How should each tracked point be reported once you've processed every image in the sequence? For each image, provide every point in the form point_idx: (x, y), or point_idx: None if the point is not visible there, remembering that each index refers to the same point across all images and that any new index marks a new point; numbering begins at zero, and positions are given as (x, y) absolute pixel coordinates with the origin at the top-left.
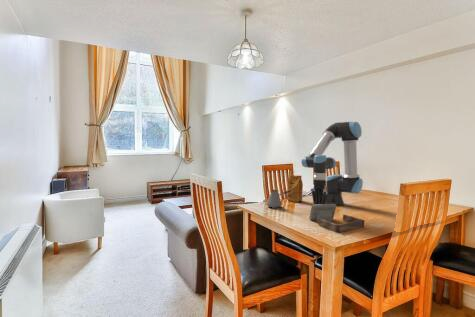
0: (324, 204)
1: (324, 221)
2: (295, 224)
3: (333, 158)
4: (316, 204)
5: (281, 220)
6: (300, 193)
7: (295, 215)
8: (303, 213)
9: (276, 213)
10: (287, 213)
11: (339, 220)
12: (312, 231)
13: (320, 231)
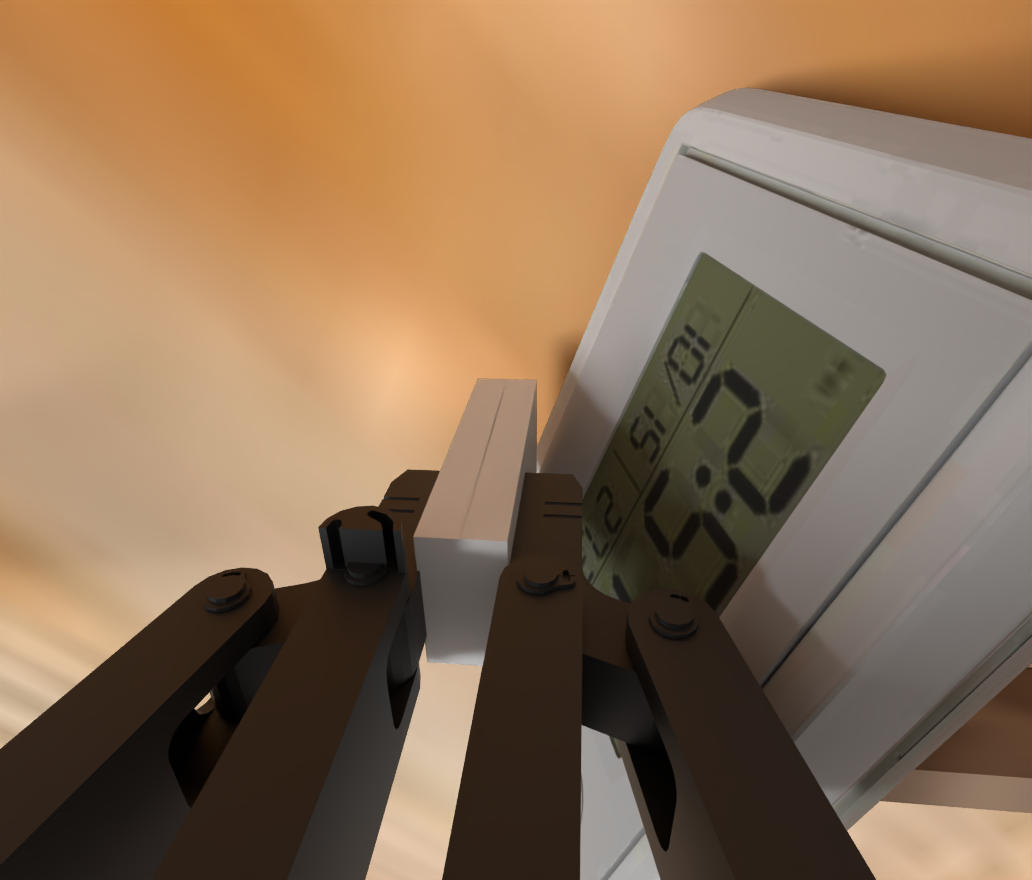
0: (858, 804)
1: (1029, 808)
2: None
3: None
4: (402, 687)
5: None
6: None
7: (172, 593)
8: (58, 384)
9: (15, 726)
10: (29, 616)
11: (934, 3)
12: (909, 865)
13: (993, 812)
